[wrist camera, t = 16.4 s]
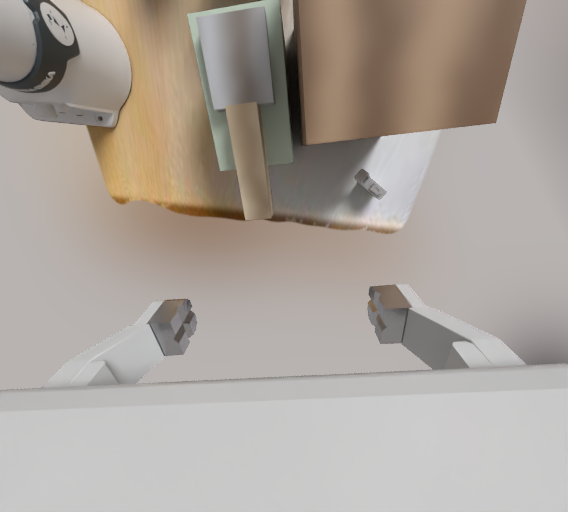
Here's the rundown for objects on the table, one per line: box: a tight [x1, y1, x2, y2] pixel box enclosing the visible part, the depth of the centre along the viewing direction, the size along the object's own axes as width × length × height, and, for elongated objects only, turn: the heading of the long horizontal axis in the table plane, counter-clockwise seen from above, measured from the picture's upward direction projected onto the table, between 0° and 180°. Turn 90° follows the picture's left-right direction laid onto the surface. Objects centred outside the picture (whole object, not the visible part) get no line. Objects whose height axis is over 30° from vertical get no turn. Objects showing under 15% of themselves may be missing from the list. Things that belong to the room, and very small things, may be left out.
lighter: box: [354, 169, 386, 199], centre depth 40 cm, size 7×2×8 cm, turn 54°
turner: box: [196, 6, 275, 220], centre depth 28 cm, size 7×21×4 cm, turn 6°
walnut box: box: [293, 0, 526, 145], centre depth 26 cm, size 14×16×26 cm
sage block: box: [187, 0, 294, 171], centre depth 34 cm, size 10×16×14 cm, turn 6°
